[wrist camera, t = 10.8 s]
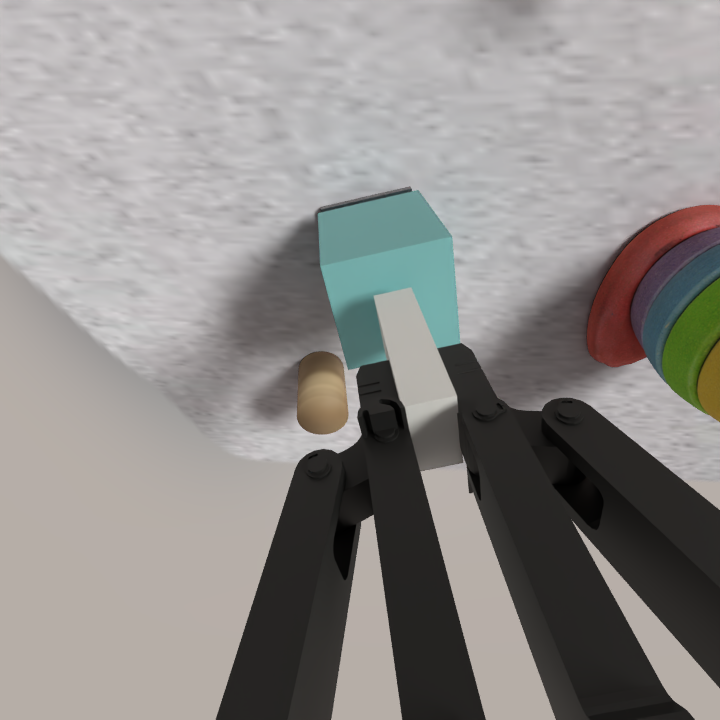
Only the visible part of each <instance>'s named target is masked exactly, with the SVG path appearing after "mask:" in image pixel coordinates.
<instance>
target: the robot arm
mask: <svg viewBox="0 0 720 720" xmlns="http://www.w3.org/2000/svg"><path fill="white" fill-rule="evenodd" d="M374 301H375V306H376V310H377V315H378V320H379V325H380V330H381V335H382V340H383V345H384V350H385V354H386V358H387V360H385V361H381V362H376V363H371V364H367V365H362V366H360V369H359V371H358V373H357V375H356V378H357V385H358V393H359V400H360V407H361V408H360V409H359V411H358V416H357V418H358V422H359V426H360V429H361V433H362V435H361V437H360V439H359V440H358V441H357V442H356V443H355V444H354V445H353V446H352V447H350V448H348V449H347V450H345V451H343V452H341V453H339V454H337V453H336V452H334V451H332V450H326V449H321V450H316V451H313V452H311V453H309V454H307V455H306V456H304V457H303V458H302V459H301V460H300V461H299V463H298V465H297V467H296V469H295V472H294V475H293V478H292V481H291V484H290V487H289V491H288V494H287V497H286V500H285V503H284V506H283V510H282V513H281V516H280V519H279V522H278V525H277V529H276V532H275V535H274V538H273V541H272V544H271V548H270V550H269V554H268V557H267V560H266V563H265V566H264V569H263V573H262V576H261V579H260V582H259V585H258V588H257V591H256V595H255V598H254V601H253V604H252V607H251V610H250V614H249V617H248V620H247V623H246V626H245V629H244V632H243V636H242V639H241V642H240V645H239V648H238V651H237V654H236V658H235V661H234V664H233V667H232V670H231V673H230V676H229V680H228V683H227V686H226V689H225V692H224V695H223V698H222V702H221V705H220V708H219V711H218V714H217V717H216V720H331V717H332V710H333V703H334V697H335V691H336V683H337V678H338V671H339V665H340V657H341V651H342V644H343V638H344V632H345V626H346V619H347V613H348V606H349V600H350V593H351V587H352V580H353V574H354V567H355V561H356V554H357V548H358V541H359V535H360V528H361V521H363V520H365V519H366V518H368V517H370V516H372V515H374V520H375V527H376V534H377V542H378V549H379V556H380V563H381V570H382V577H383V585H384V591H385V599H386V606H387V613H388V620H389V628H390V635H391V642H392V648H393V656H394V663H395V670H396V677H397V685H398V692H399V698H400V706H401V713H402V720H486V719H485V715H484V712H483V708H482V704H481V700H480V696H479V693H478V689H477V685H476V681H475V677H474V674H473V670H472V666H471V662H470V659H469V655H468V651H467V647H466V643H465V639H464V636H463V632H462V628H461V624H460V621H459V617H458V613H457V609H456V605H455V601H454V598H453V594H452V590H451V586H450V583H449V579H448V575H447V571H446V568H445V564H444V560H443V556H442V552H441V549H440V545H439V541H438V537H437V533H436V529H435V526H434V522H433V518H432V514H431V510H430V507H429V503H428V499H427V496H426V491H425V488H424V484H423V480H422V476H421V472H420V471H425V470H429V469H434V468H439V467H444V466H449V465H454V464H459V463H463V456H464V459H465V462H466V464H467V475H468V486H469V493H474V495H475V498H476V501H477V504H478V506H479V509H480V512H481V515H482V518H483V520H484V523H485V525H486V529H487V531H488V534H489V536H490V540H491V542H492V545H493V548H494V551H495V553H496V556H497V559H498V561H499V564H500V567H501V570H502V573H503V575H504V577H505V581H506V583H507V586H508V589H509V591H510V594H511V597H512V600H513V603H514V605H515V608H516V611H517V614H518V616H519V619H520V622H521V625H522V627H523V630H524V633H525V636H526V639H527V641H528V644H529V647H530V650H531V652H532V655H533V658H534V661H535V663H536V666H537V669H538V672H539V674H540V677H541V680H542V682H543V685H544V688H545V691H546V693H547V696H548V699H549V702H550V704H551V707H552V710H553V713H554V715H555V718H556V720H695V719H694V718H693V717H692V716H691V714H690V713H689V712H688V711H687V710H686V709H684V708H683V707H682V706H680V705H679V704H677V703H676V702H675V701H673V700H672V698H671V697H670V696H669V695H668V694H667V692H666V690H665V689H664V687H663V686H662V684H661V682H660V680H659V678H658V677H657V675H656V673H655V671H654V669H653V667H652V666H651V664H650V662H649V660H648V658H647V656H646V655H645V653H644V651H643V649H642V647H641V646H640V644H639V642H638V640H637V638H636V637H635V635H634V633H633V631H632V629H631V627H630V626H629V624H628V622H627V620H626V618H625V617H624V615H623V613H622V611H621V609H620V607H619V606H618V604H617V602H616V600H615V598H614V596H613V595H612V593H611V591H610V589H609V587H608V586H607V584H606V582H605V580H604V578H603V577H602V575H601V573H600V571H599V569H598V567H597V566H596V564H595V562H594V561H593V558H592V557H591V555H590V553H589V551H588V549H587V547H586V545H585V544H584V542H583V540H582V538H581V537H580V535H579V533H578V531H577V529H576V527H575V525H574V524H573V522H574V523H575V524H576V525H577V526H578V528H579V529H580V530H581V531H582V532H583V533H584V534H585V535H586V536H587V538H588V539H589V540H590V541H591V542H592V543H593V544H594V546H595V547H596V548H597V549H598V550H599V551H600V553H601V554H602V555H603V556H604V557H605V558H606V559H607V560H608V562H610V564H611V565H612V566H613V567H614V568H615V570H616V571H617V572H618V573H619V574H620V575H621V576H622V577H623V579H624V580H625V581H626V582H627V583H628V584H629V586H630V587H631V588H632V589H633V590H634V591H635V592H636V593H637V595H638V596H639V597H640V598H641V599H642V600H643V601H644V603H645V604H646V605H647V606H648V607H649V608H650V609H651V610H652V612H653V613H654V614H655V615H656V616H657V617H658V618H659V620H660V621H661V622H662V623H663V624H664V625H665V626H666V628H667V629H668V630H669V631H670V632H671V633H672V634H673V636H674V637H675V638H676V639H677V640H678V641H679V642H680V643H681V645H682V646H683V647H684V648H685V649H686V650H687V651H688V652H689V654H690V655H691V656H692V657H693V658H694V659H695V661H696V662H697V663H698V664H699V665H700V666H701V667H702V669H703V670H704V671H705V672H706V673H707V674H708V675H709V676H710V678H711V679H712V680H713V681H714V682H715V683H716V684H717V686H718V687H719V688H720V510H719V509H718V508H716V507H715V506H714V505H713V504H711V503H710V502H709V501H708V500H706V499H705V498H704V497H703V496H701V495H700V494H699V493H697V492H696V491H695V490H694V489H693V488H691V487H690V486H689V485H688V484H687V483H685V482H684V481H683V480H682V479H680V478H679V477H678V476H677V475H675V474H674V473H673V472H672V471H670V470H669V469H668V468H667V467H665V466H664V465H663V464H662V463H661V462H659V461H658V460H657V459H656V458H654V457H653V456H652V455H651V454H649V453H648V452H647V451H646V450H644V449H643V448H642V447H641V446H639V445H638V444H637V443H636V442H634V441H633V440H632V439H631V438H629V437H628V436H627V435H626V434H624V433H623V432H622V431H621V430H620V429H618V428H617V427H616V426H615V425H613V424H612V423H611V422H610V421H608V420H607V419H606V418H605V417H603V416H602V415H601V414H600V413H598V412H597V411H596V410H595V409H593V408H592V407H591V406H590V405H588V404H586V403H584V402H583V401H580V400H577V399H573V398H558V399H554V400H551V401H550V402H548V403H547V404H545V406H544V408H543V409H542V411H523V410H516V409H513V408H510V407H509V406H508V405H507V404H506V403H505V402H504V401H502V400H500V399H498V398H497V397H496V395H495V393H494V391H493V389H492V387H491V385H490V383H489V382H488V380H487V378H486V376H485V374H484V372H483V370H481V367H480V365H479V363H478V362H477V359H476V357H475V355H474V353H473V352H472V350H471V349H469V348H468V347H466V346H465V345H463V344H462V343H459V344H455V345H450V346H445V347H441V348H437V347H436V345H435V342H434V340H433V338H432V335H431V333H430V331H429V328H428V326H427V323H426V321H425V319H424V316H423V314H422V312H421V309H420V307H419V304H418V302H417V300H416V297H415V295H414V293H413V290H412V288H411V287H410V288H406V289H401V290H397V291H392V292H388V293H383V294H379V295H374ZM462 454H463V456H462ZM572 521H573V522H572Z"/></svg>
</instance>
